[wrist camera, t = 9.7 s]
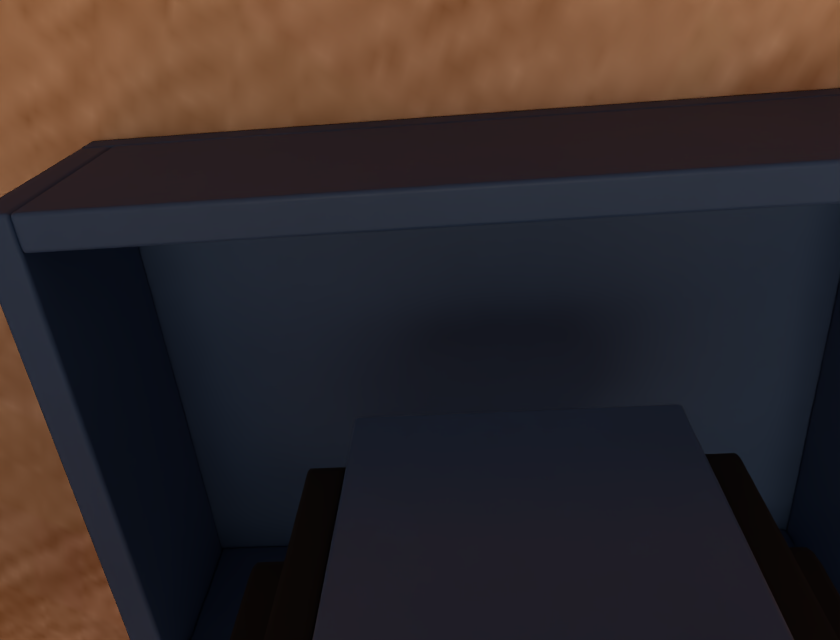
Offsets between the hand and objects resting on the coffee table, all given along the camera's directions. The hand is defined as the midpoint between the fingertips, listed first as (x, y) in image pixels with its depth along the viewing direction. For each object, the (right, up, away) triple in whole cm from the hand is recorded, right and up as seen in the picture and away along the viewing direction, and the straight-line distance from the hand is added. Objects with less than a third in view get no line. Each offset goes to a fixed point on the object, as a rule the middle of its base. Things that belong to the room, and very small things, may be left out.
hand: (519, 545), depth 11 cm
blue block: (0, 0, 0) cm, 0 cm away
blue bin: (0, +2, +5) cm, 5 cm away
